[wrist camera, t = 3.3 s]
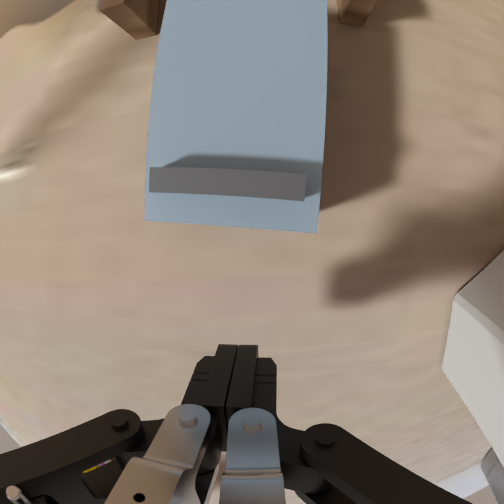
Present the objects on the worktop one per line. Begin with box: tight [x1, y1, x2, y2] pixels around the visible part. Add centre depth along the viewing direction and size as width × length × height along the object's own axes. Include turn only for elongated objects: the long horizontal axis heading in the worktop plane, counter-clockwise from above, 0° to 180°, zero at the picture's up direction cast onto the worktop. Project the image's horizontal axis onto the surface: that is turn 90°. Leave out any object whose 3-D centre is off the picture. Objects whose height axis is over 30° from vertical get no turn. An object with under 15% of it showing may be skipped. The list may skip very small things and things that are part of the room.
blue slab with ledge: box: [145, 0, 328, 234], centre depth 11 cm, size 6×9×6 cm, turn 176°
